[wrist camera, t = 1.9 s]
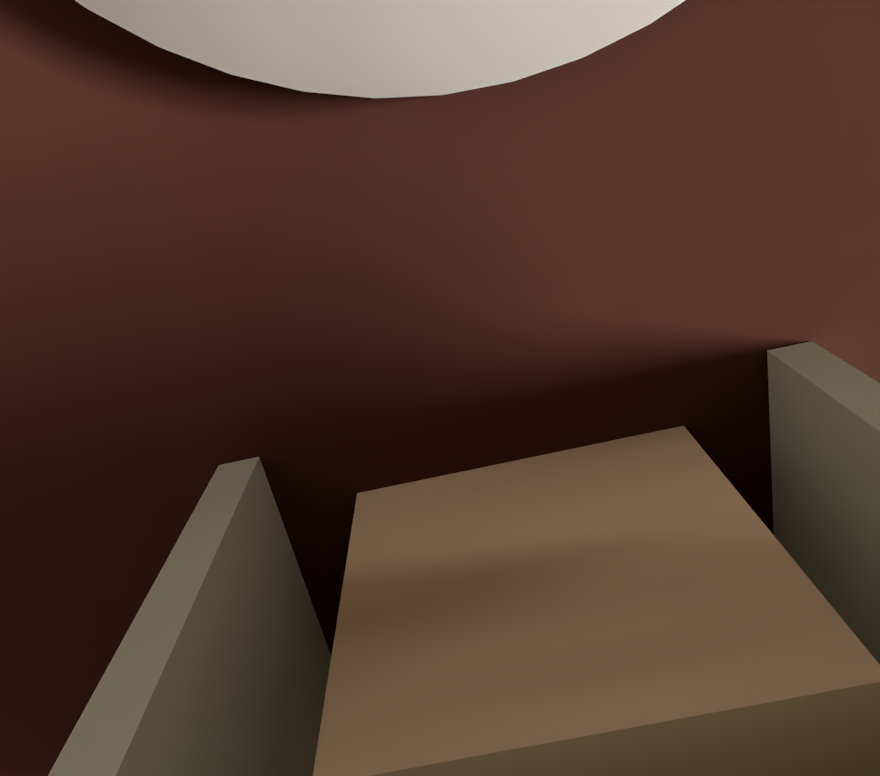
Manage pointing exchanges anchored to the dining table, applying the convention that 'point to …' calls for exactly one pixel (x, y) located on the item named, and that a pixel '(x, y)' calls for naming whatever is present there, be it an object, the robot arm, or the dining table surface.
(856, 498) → the cover
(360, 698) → the block
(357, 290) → the dining table surface
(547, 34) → the saucer
